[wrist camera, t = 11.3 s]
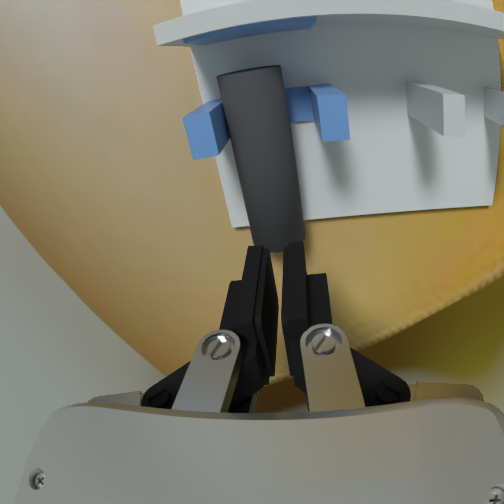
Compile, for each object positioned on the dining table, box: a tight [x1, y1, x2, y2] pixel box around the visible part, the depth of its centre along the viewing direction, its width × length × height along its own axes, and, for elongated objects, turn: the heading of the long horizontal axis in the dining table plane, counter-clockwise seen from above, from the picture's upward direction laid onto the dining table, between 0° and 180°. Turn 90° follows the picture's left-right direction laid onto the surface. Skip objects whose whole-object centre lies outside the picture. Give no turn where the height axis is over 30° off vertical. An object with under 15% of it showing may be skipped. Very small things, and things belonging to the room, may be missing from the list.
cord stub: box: [216, 65, 305, 252], centre depth 17 cm, size 10×3×3 cm, turn 10°
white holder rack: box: [153, 0, 504, 228], centre depth 14 cm, size 16×19×6 cm
